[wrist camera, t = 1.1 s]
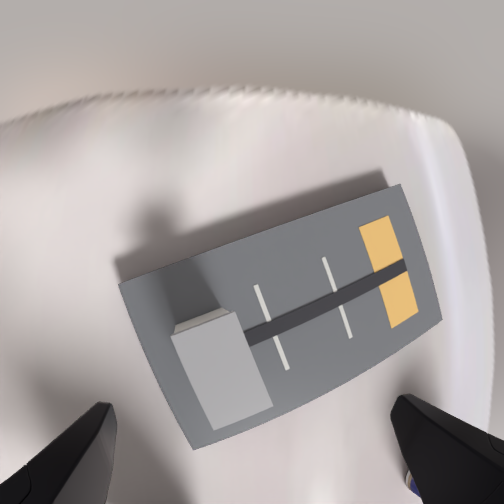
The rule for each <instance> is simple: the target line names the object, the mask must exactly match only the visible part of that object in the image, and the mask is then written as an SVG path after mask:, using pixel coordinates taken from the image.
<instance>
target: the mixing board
mask: <svg viewBox="0 0 504 504" xmlns="http://www.w3.org/2000/svg"><path fill="white" fill-rule="evenodd" d="M118 286H119V288H120V291H121V294H122V297H123V300H124V302H125V305H126V308H127V310H128V313H129V316H130V318H131V321H132V323H133V326H134V328H135V331H136V333H137V336H138V338H139V340H140V343H141V345H142V348H143V350H144V352H145V355H146V357H147V359H148V361H149V364H150V366H151V368H152V370H153V373H154V375H155V377H156V379H157V381H158V383H159V386H160V388H161V390H162V392H163V394H164V396H165V398H166V400H167V402H168V404H169V406H170V408H171V410H172V412H173V414H174V416H175V418H176V420H177V422H178V424H179V425H180V427H181V429H182V431H183V433H184V435H185V437H186V438H187V440H188V442H189V444H190V446H191V447H192V449H193V450H196V449H199V448H202V447H205V446H207V445H210V444H213V443H216V442H218V441H221V440H224V439H226V438H229V437H232V436H234V435H237V434H239V433H242V432H244V431H247V430H249V429H252V428H254V427H256V426H259V425H261V424H263V423H266V422H268V421H270V420H272V419H275V418H277V417H279V416H281V415H283V414H286V413H288V412H290V411H292V410H294V409H296V408H298V407H300V406H302V405H304V404H306V403H308V402H310V401H312V400H314V399H316V398H318V397H320V396H322V395H324V394H326V393H328V392H330V391H331V390H333V389H335V388H337V387H339V386H341V385H342V384H344V383H346V382H348V381H350V380H351V379H353V378H355V377H357V376H358V375H360V374H362V373H363V372H365V371H367V370H368V369H370V368H372V367H373V366H375V365H377V364H378V363H380V362H381V361H383V360H385V359H386V358H388V357H389V356H391V355H393V354H394V353H396V352H397V351H399V350H400V349H402V348H403V347H405V346H406V345H408V344H409V343H411V342H412V341H414V340H415V339H416V338H418V337H419V336H421V335H422V334H424V333H425V332H426V331H428V330H429V329H431V328H432V327H433V326H435V325H436V324H437V323H439V322H440V321H442V315H441V311H440V307H439V302H438V298H437V294H436V291H435V287H434V283H433V279H432V276H431V272H430V269H429V265H428V262H427V258H426V255H425V252H424V249H423V246H422V242H421V239H420V236H419V233H418V230H417V227H416V225H415V222H414V219H413V216H412V213H411V210H410V208H409V205H408V202H407V200H406V197H405V195H404V192H403V189H402V187H401V184H398V185H395V186H392V187H389V188H386V189H383V190H380V191H377V192H374V193H371V194H368V195H365V196H363V197H360V198H357V199H354V200H351V201H348V202H345V203H342V204H339V205H336V206H333V207H331V208H328V209H325V210H322V211H319V212H316V213H313V214H310V215H308V216H305V217H302V218H299V219H296V220H293V221H290V222H288V223H285V224H282V225H279V226H276V227H273V228H271V229H268V230H265V231H262V232H259V233H257V234H254V235H251V236H248V237H245V238H243V239H240V240H237V241H234V242H231V243H229V244H226V245H223V246H220V247H218V248H215V249H212V250H209V251H207V252H204V253H201V254H198V255H196V256H193V257H190V258H187V259H185V260H182V261H179V262H176V263H174V264H171V265H168V266H166V267H163V268H160V269H157V270H155V271H152V272H149V273H147V274H144V275H141V276H139V277H136V278H133V279H131V280H128V281H125V282H123V283H120V284H118ZM219 308H223V309H225V310H227V311H229V312H231V311H235V313H236V315H237V318H238V320H239V323H240V325H241V328H242V330H243V333H244V335H245V338H246V340H247V343H248V345H249V348H250V350H251V353H252V355H253V358H254V360H255V363H256V365H257V368H258V370H259V373H260V375H261V377H262V380H263V382H264V385H265V387H266V389H267V392H268V394H269V397H270V399H271V401H272V404H273V407H270V408H268V409H266V410H263V411H261V412H259V413H257V414H254V415H252V416H249V417H247V418H245V419H242V420H240V421H237V422H235V423H232V424H230V425H227V426H224V427H222V428H219V429H217V430H213V428H212V426H211V424H210V422H209V420H208V418H207V416H206V414H205V412H204V410H203V408H202V406H201V404H200V402H199V400H198V397H197V395H196V393H195V391H194V389H193V387H192V385H191V383H190V380H189V378H188V376H187V374H186V372H185V369H184V367H183V365H182V363H181V360H180V358H179V356H178V353H177V351H176V349H175V346H174V344H173V342H172V339H171V337H170V336H171V334H174V331H175V325H177V324H180V323H182V322H185V321H188V320H190V319H193V318H196V317H198V316H201V315H203V314H206V313H209V312H211V311H214V310H216V309H219Z"/></svg>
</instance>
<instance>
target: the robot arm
mask: <svg viewBox="0 0 504 504" xmlns="http://www.w3.org/2000/svg"><path fill="white" fill-rule="evenodd" d="M390 417H391V421H392V424H393V427H394V431H395V434H396V437H397V440H398V443H399V446H400V449H401V452H402V455H403V457H404V460H405V462H406V464H407V466H408V469H409V471H410V473H411V476H412V478H413V480H414V483H415V485H416V487H417V490H418V492H419V494H420V497H421V499H422V502H423V504H504V440H501V439H499V438H497V437H495V436H493V435H491V434H487V433H486V432H484V431H482V430H480V429H478V428H476V427H474V426H472V425H470V424H468V423H466V422H464V421H462V420H460V419H458V418H456V417H454V416H452V415H450V414H448V413H446V412H444V411H442V410H440V409H438V408H437V407H435V406H433V405H431V404H429V403H427V402H425V401H423V400H421V399H419V398H417V397H416V396H414V395H412V394H403V395H400V396H399V397H398V398H397V400H396V402H395V404H394V406H393V409H392V411H391V414H390ZM116 432H117V421H116V417H115V413H114V409H113V406H112V404H111V403H107V402H97V403H96V404H95V405H94V406H92V407H91V408H90V409H89V410H88V411H87V412H86V413H84V414H83V415H82V416H81V417H80V418H79V419H78V420H76V421H75V422H74V423H73V424H72V425H71V426H69V427H68V428H67V429H66V430H65V431H64V432H63V433H61V434H60V435H59V436H58V437H57V438H56V439H54V440H53V441H52V442H51V443H50V444H49V445H48V446H46V447H45V448H44V449H43V450H42V451H41V452H39V453H38V454H37V455H36V456H35V457H34V458H32V459H31V460H30V461H29V462H28V463H27V465H24V466H23V467H22V468H21V469H19V470H18V471H17V472H16V473H14V474H13V475H12V476H11V477H9V478H8V479H7V480H6V481H4V482H3V483H1V484H0V504H105V502H106V498H107V493H108V488H109V484H110V479H111V474H112V469H113V459H114V449H115V440H116Z"/></svg>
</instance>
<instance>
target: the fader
mask: <svg viewBox="0 0 504 504" xmlns="http://www.w3.org/2000/svg"><path fill="white" fill-rule="evenodd" d="M170 337H171V339H172V342H173V344H174V346H175V349H176V351H177V353H178V356H179V358H180V360H181V363H182V365H183V367H184V369H185V372H186V374H187V376H188V378H189V380H190V383H191V385H192V387H193V389H194V391H195V393H196V395H197V397H198V400H199V402H200V404H201V406H202V408H203V410H204V412H205V414H206V416H207V418H208V420H209V422H210V424H211V426H212V428H213V430H217V429H219V428H222V427H224V426H227V425H230V424H232V423H235V422H237V421H240V420H242V419H245V418H247V417H249V416H252V415H254V414H257V413H259V412H261V411H263V410H266V409H268V408H270V407H273V404H272V401H271V399H270V397H269V394H268V392H267V389H266V387H265V385H264V382H263V380H262V377H261V375H260V373H259V370H258V368H257V365H256V363H255V360H254V358H253V355H252V353H251V350H250V348H249V345H248V343H247V340H246V338H245V335H244V333H243V330H242V328H241V325H240V323H239V320H238V318H237V315H236V313H235V311H231V312H229V311H227V310H225V309H223V308H219V309H216V310H214V311H211V312H209V313H206V314H203V315H201V316H198V317H196V318H193V319H190V320H188V321H185V322H182V323H180V324H177V325H175V331H174V334H171V336H170Z"/></svg>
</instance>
